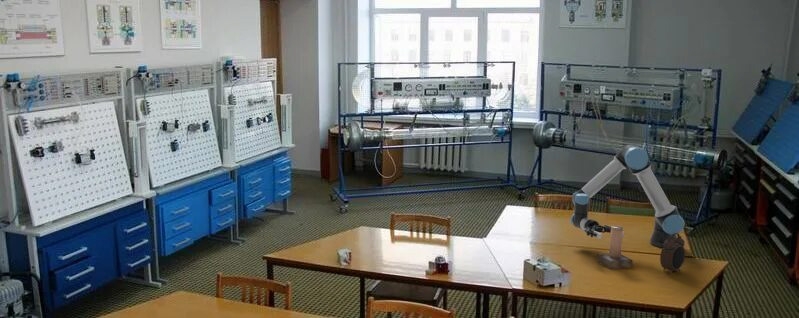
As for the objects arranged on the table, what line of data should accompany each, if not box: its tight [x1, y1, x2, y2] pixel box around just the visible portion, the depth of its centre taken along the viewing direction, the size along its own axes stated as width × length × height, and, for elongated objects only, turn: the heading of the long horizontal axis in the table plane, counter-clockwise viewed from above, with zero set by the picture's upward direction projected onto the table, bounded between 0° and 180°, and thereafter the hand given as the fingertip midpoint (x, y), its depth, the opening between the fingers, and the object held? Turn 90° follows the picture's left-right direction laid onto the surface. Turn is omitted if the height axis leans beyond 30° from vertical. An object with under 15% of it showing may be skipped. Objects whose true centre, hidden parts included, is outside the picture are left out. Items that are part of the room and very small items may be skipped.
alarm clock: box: [659, 233, 686, 275], centre depth 363 cm, size 15×7×20 cm, turn 129°
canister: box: [608, 225, 624, 259], centre depth 374 cm, size 6×6×16 cm
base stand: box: [596, 253, 633, 270], centre depth 375 cm, size 13×12×4 cm
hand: (612, 235), depth 376 cm, fingers open, 13 cm apart
